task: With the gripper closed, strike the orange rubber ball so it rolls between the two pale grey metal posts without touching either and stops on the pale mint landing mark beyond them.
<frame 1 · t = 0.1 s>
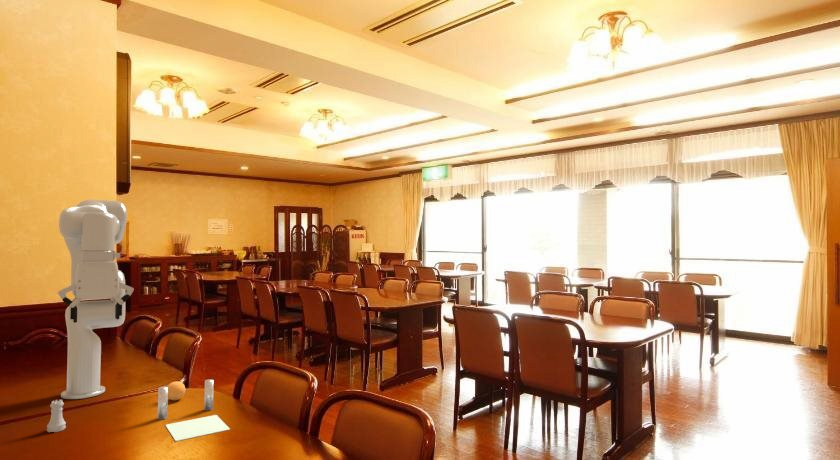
hand: (96, 320, 135), 31 cm above the table, tool pointing down, fingers open, 9 cm apart
ball: (175, 390, 164), on the table
rook chess piece: (56, 430, 138), on the table
landing mark: (197, 427, 140), on the table
post 1: (162, 418, 148), on the table
post 2: (208, 409, 156), on the table
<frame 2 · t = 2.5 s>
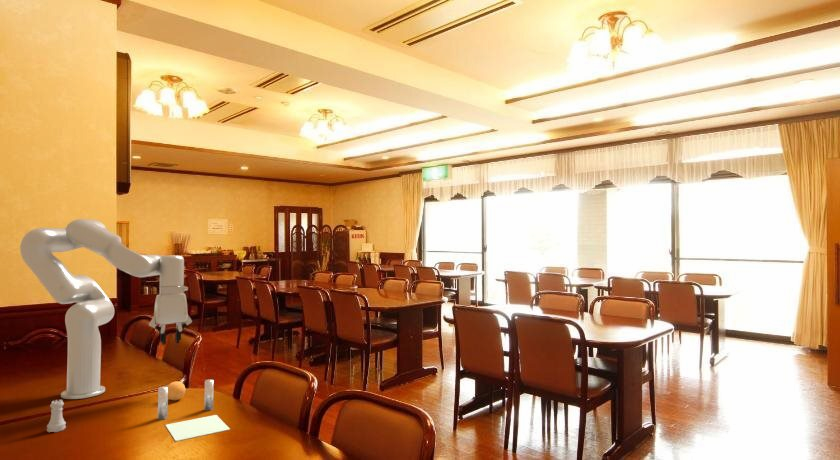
hand: (170, 342, 172), 17 cm above the table, tool pointing down, fingers open, 3 cm apart
nothing on the table moved.
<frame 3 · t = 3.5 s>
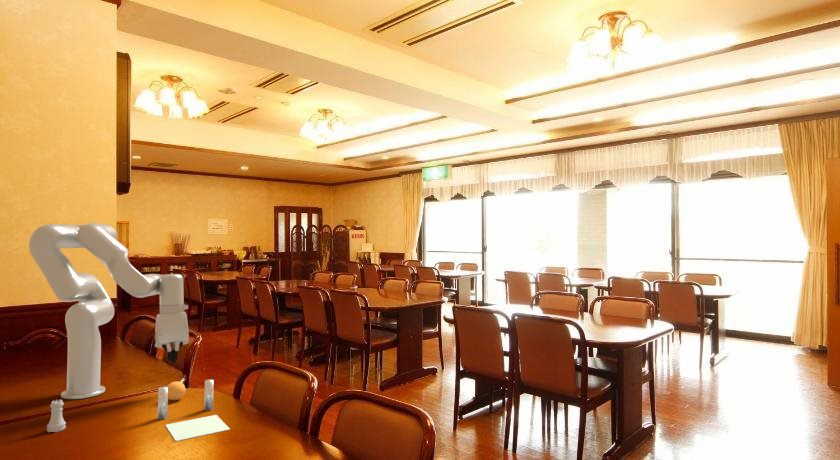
hand: (172, 362, 172), 11 cm above the table, tool pointing down, fingers closed
nothing on the table moved.
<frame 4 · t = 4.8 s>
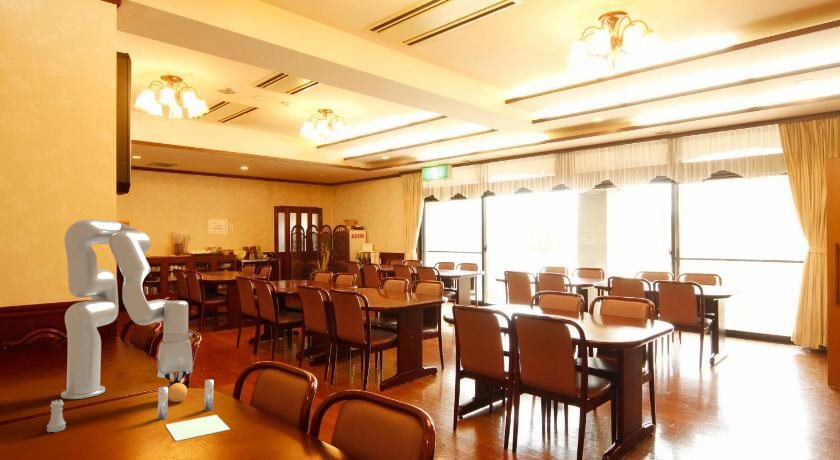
hand: (175, 392, 166), 2 cm above the table, tool pointing down, fingers closed
ball: (177, 392, 163), on the table
everything else where it was.
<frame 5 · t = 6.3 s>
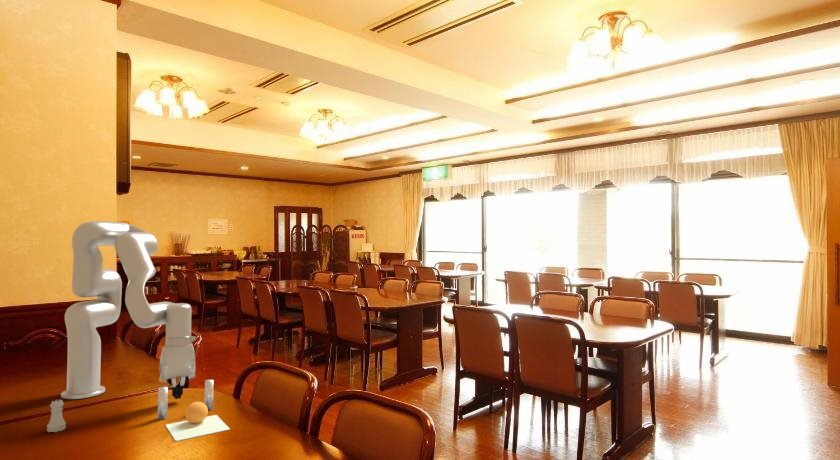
hand: (177, 397, 162), 2 cm above the table, tool pointing down, fingers closed
ball: (196, 412, 144), on the table
everything else where it was.
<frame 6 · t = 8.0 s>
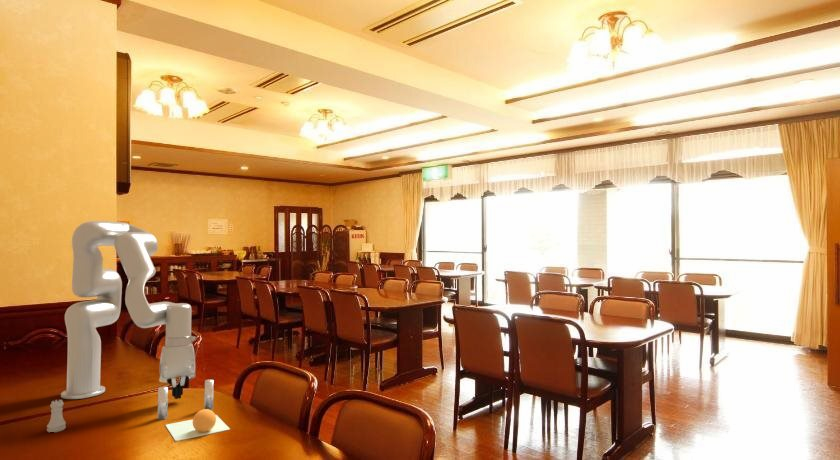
hand: (177, 397, 162), 2 cm above the table, tool pointing down, fingers closed
ball: (204, 420, 138), on the table
everything else where it was.
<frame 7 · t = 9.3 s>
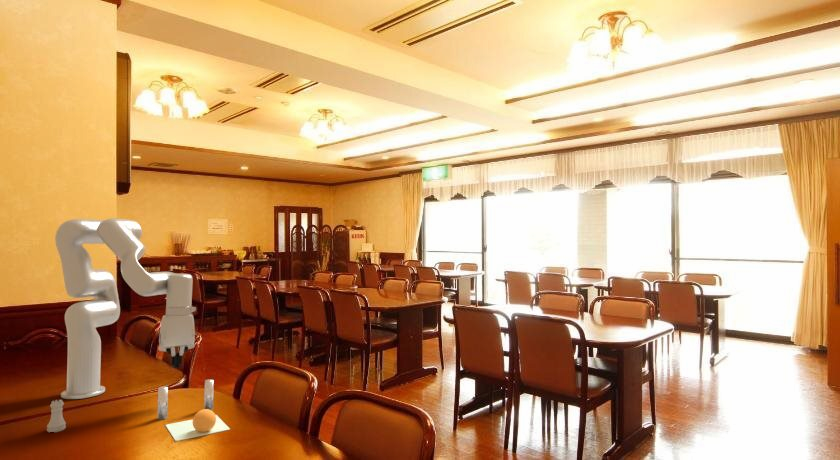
hand: (175, 367, 162), 11 cm above the table, tool pointing down, fingers closed
nothing on the table moved.
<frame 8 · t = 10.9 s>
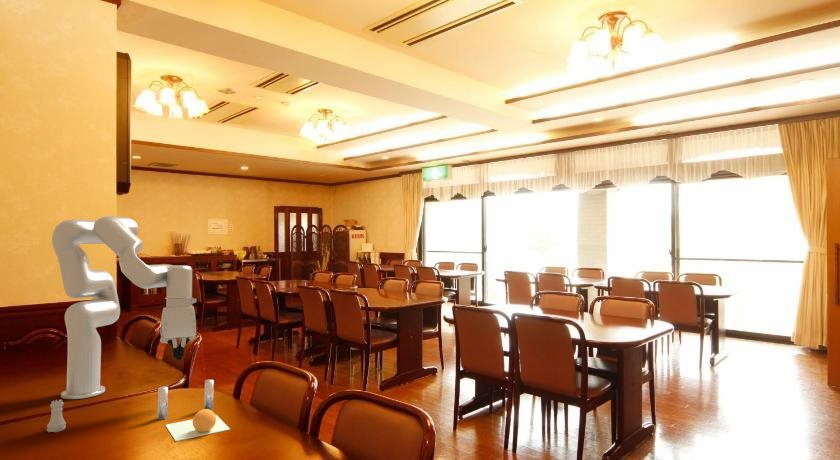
hand: (178, 359, 162), 14 cm above the table, tool pointing down, fingers closed
nothing on the table moved.
at the end: ball 4.2 cm from the landing mark (horizontally); ball never touched post 2; ball never touched post 1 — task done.
